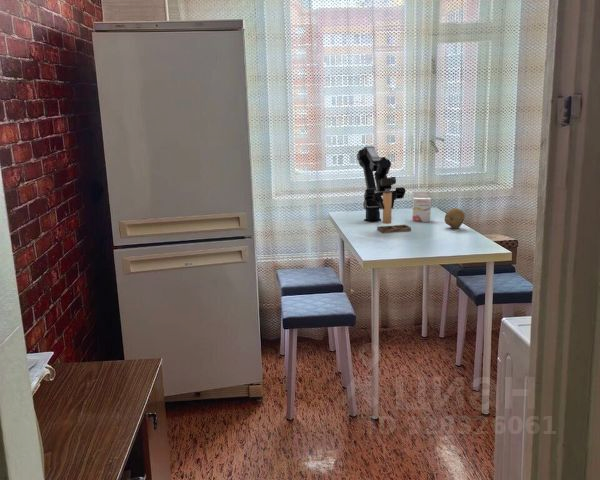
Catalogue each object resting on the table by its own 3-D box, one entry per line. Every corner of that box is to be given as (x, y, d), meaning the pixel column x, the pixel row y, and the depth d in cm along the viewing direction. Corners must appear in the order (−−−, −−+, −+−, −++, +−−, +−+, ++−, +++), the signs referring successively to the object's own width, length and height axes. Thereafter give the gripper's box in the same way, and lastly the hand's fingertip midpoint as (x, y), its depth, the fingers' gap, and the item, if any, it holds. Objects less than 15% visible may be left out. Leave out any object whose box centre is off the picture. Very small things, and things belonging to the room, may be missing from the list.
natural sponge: (449, 231, 288) (450, 210, 286) (440, 227, 297) (441, 207, 295) (467, 230, 291) (468, 209, 288) (457, 226, 299) (458, 205, 297)
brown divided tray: (382, 234, 287) (382, 229, 286) (377, 230, 294) (377, 226, 293) (410, 231, 290) (411, 227, 290) (405, 228, 297) (405, 224, 296)
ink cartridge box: (413, 222, 311) (413, 192, 308) (412, 220, 316) (412, 191, 312) (430, 222, 310) (431, 192, 307) (429, 220, 315) (430, 191, 311)
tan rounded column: (380, 222, 291) (381, 188, 287) (387, 221, 293) (388, 187, 289) (386, 224, 287) (386, 189, 284) (393, 222, 289) (393, 188, 286)
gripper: (365, 171, 287) (371, 199, 279) (404, 170, 289) (411, 197, 281) (361, 186, 296) (367, 213, 288) (399, 184, 299) (406, 211, 291)
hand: (388, 208), depth 287 cm, fingers closed on tan rounded column, 4 cm apart
